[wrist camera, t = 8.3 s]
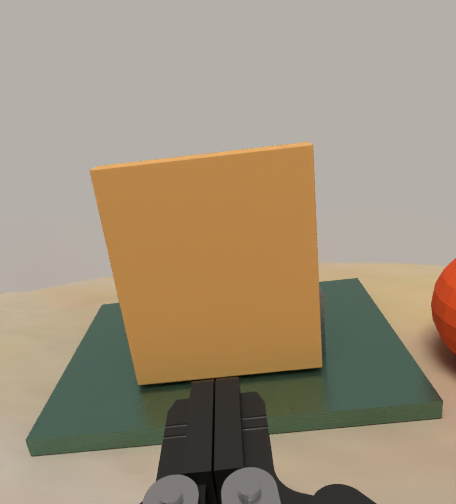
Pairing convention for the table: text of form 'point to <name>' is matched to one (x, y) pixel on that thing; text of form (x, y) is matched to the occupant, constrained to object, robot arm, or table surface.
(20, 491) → the table surface
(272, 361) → the wooden stand
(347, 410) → the heat sink mount
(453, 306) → the clementine
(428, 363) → the table surface
